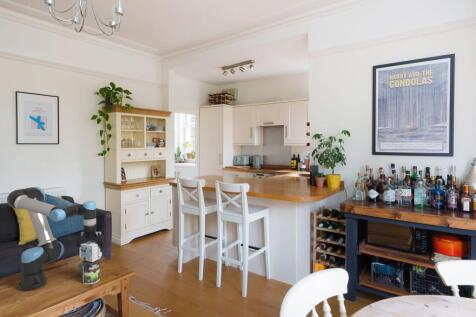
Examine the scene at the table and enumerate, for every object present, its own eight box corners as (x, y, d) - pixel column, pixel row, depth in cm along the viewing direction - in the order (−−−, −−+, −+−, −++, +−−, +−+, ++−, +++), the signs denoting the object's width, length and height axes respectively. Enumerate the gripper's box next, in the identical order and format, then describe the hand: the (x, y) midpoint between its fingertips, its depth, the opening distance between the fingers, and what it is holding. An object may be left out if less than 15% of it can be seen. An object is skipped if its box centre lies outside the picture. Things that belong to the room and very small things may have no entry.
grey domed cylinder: (77, 276, 197) (76, 265, 197) (81, 273, 202) (80, 262, 202) (84, 276, 197) (83, 265, 197) (88, 273, 202) (87, 262, 202)
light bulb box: (80, 260, 189) (80, 244, 188) (89, 256, 195) (88, 240, 195) (92, 262, 185) (92, 246, 185) (100, 258, 192) (100, 242, 191)
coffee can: (102, 280, 192) (102, 259, 191) (87, 286, 184) (86, 264, 183) (95, 275, 198) (94, 256, 198) (80, 281, 190) (79, 260, 189)
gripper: (68, 226, 185) (69, 258, 186) (105, 226, 185) (106, 258, 186) (75, 223, 193) (76, 254, 194) (110, 223, 193) (111, 254, 194)
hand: (90, 256), depth 190 cm, fingers closed on light bulb box, 12 cm apart
